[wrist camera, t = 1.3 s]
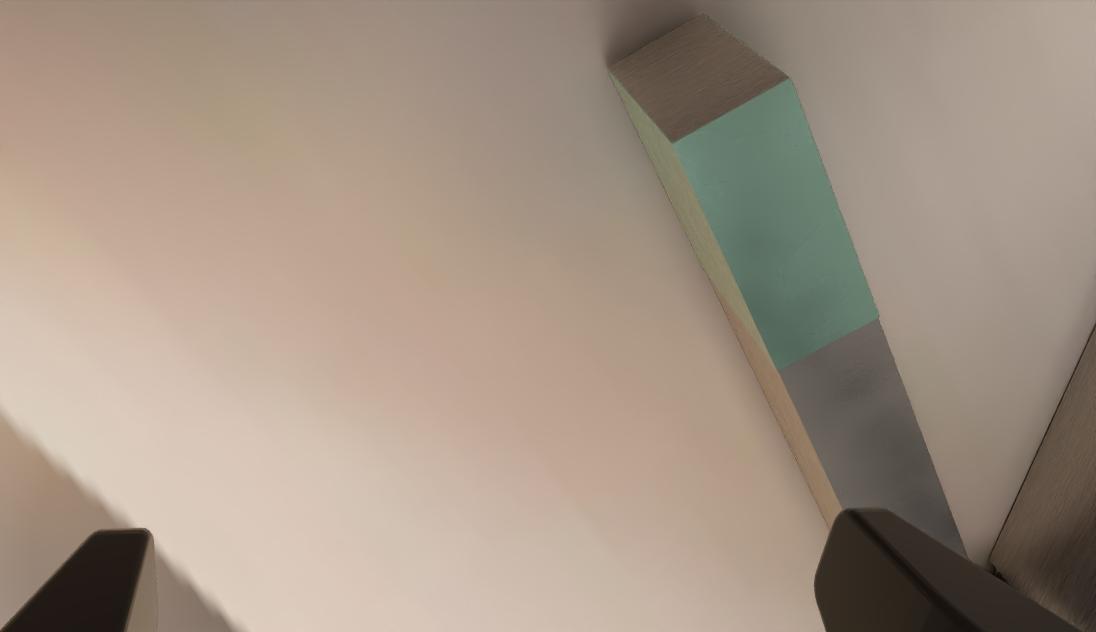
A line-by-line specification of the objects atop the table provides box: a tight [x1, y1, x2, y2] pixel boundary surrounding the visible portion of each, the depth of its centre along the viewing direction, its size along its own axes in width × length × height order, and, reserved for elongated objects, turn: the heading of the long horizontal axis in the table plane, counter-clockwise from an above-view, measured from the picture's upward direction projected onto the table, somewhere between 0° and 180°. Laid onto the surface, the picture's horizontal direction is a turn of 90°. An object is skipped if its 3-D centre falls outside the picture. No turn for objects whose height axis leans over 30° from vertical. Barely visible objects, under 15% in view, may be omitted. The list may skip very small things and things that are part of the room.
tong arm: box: [607, 13, 969, 560], centre depth 22 cm, size 2×18×4 cm, turn 26°
